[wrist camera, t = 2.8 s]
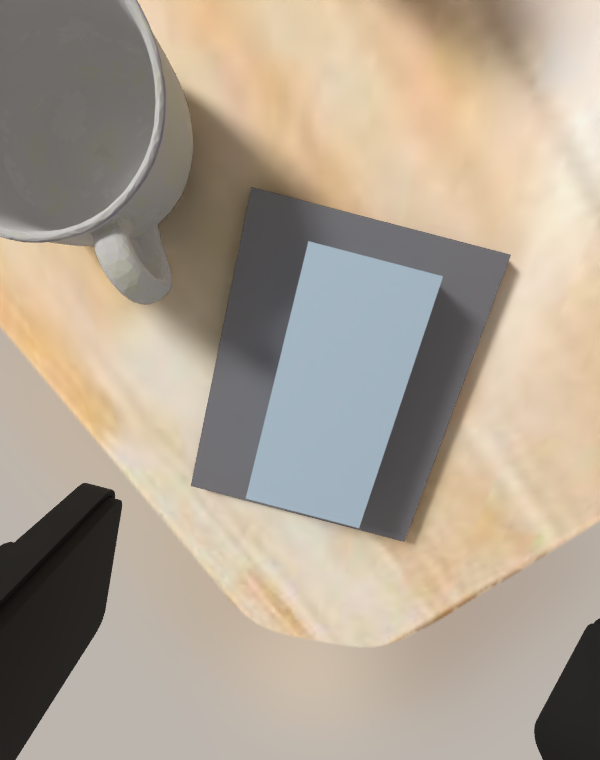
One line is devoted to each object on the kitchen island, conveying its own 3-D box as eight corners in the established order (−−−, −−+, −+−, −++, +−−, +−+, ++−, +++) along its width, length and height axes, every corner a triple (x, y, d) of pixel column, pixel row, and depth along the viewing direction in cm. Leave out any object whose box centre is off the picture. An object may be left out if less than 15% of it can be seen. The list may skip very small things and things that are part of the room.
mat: (503, 255, 23) (510, 254, 22) (401, 532, 28) (404, 541, 27) (254, 190, 23) (251, 187, 22) (195, 478, 28) (190, 485, 27)
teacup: (-12, 71, 23) (-188, -29, 15) (176, -2, 21) (89, -154, 14) (88, 324, 26) (-15, 349, 18) (257, 276, 25) (224, 280, 17)
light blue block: (428, 275, 23) (443, 276, 20) (355, 499, 27) (359, 528, 24) (311, 244, 23) (308, 241, 20) (254, 473, 27) (245, 498, 24)
